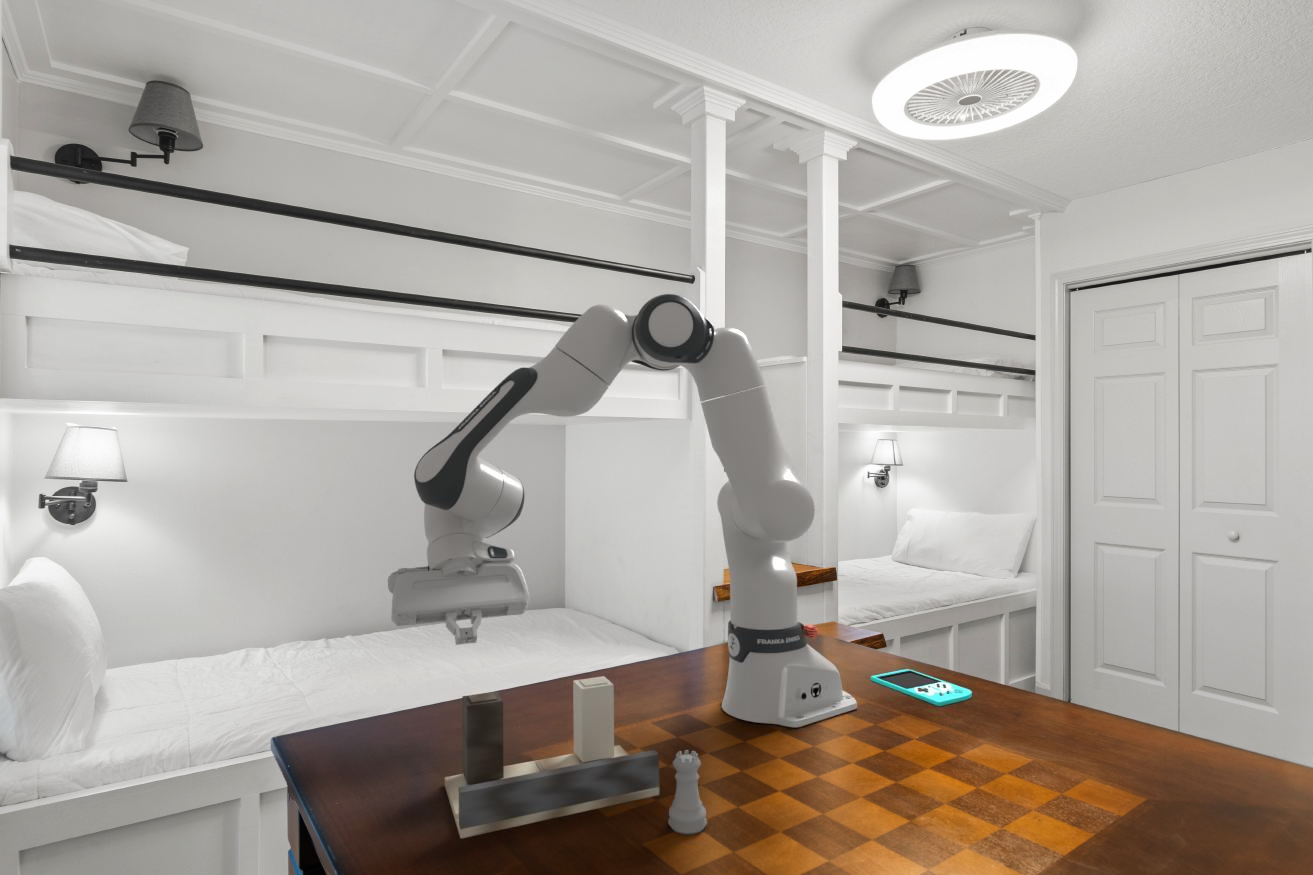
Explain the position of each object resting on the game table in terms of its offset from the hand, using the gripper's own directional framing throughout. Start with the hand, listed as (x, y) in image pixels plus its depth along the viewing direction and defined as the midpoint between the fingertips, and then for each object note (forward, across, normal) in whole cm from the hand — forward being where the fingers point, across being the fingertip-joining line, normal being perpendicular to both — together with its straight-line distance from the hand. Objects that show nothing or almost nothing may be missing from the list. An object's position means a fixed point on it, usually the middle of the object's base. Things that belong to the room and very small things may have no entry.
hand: (466, 641), depth 103 cm
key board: (+23, +8, -2) cm, 25 cm away
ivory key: (+19, +15, +1) cm, 24 cm away
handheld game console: (+17, +78, +6) cm, 80 cm away
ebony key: (+19, 0, +1) cm, 19 cm away
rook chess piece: (+34, +20, -12) cm, 41 cm away
